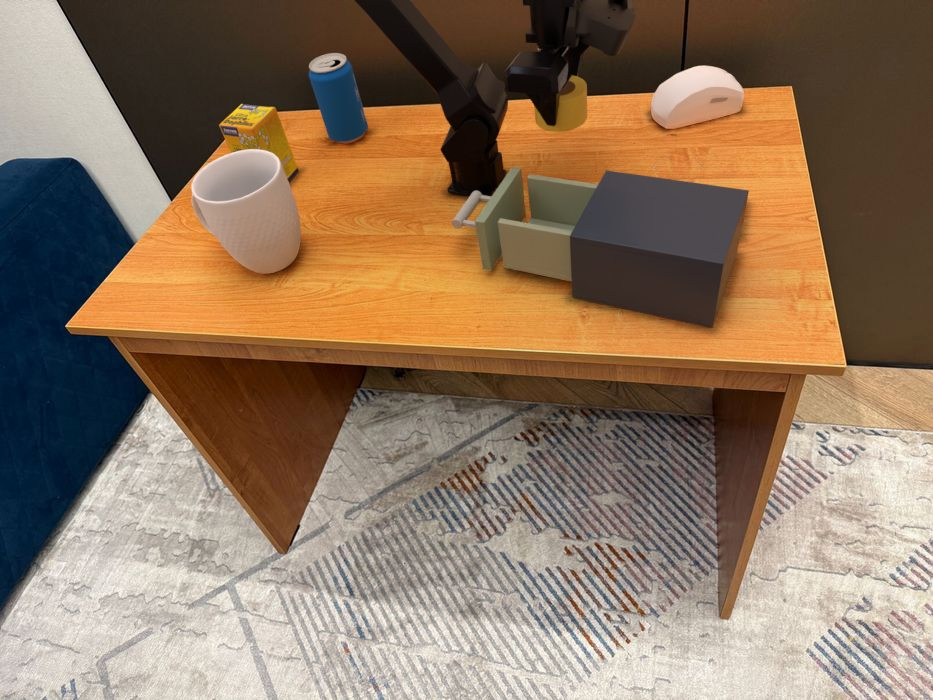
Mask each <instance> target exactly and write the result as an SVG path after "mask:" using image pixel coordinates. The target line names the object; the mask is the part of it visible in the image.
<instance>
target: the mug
mask: <svg viewBox="0 0 933 700" xmlns="http://www.w3.org/2000/svg"><path fill="white" fill-rule="evenodd" d="M190 187H191V188H190V189H191V193H192V194H191V197H190V198H191V205H192V209H193V212H194V214H195V216H196V218H197V220H199V222H200V224H201V225H202V227H203V228H204V229H205V230H206V231H207V232H208V233H210V234H211V235H212V236H214V237H215V238H216V239H217V241H218V242H219V244H220V245H221V247H222V248H223V249H224V250H225V252H227V253H228V254H229V255H230V256H231V257H232V258H233V259H234V261H236V262H237V263H239V264H240V265H241V266H242V267H244V268H246V269H247V270H249V271H251V272H254V273H256V274H261V275H269V274H274V273H277V272H280V271H283V270H284V269H287V268H288V267H290V265H291V264H293V263H294V261H295V260H296V258H297V256H298V255H299V251H300V246H301V241H302V228H301V227H302V226H301V225H302V223H301V219H300V218H301V217H300V214H299V208H298V205H297V202H296V197H295V195H294V192H293V190H292V188H291V184H290V182H289V181H288V180H287V177H286V174H285V172H284V170H283V167H282V164H281V162H280V160H279V158H278V157H277V156H276V155H275V154H273V153H271V152H269V151H266V150H259V149H249V150H241V151H237V152H233V153H231V152H230V153H228V154H225V155H222V156H220V157H218V158H216V159H214V160H212V161H211V162H209V163H207V164H206V165H205V166H203V167H202V168H201V169H200V170H199V171H198V172H197V173H196V175H195V176H194V177H193V179H192V181H191V186H190Z"/></svg>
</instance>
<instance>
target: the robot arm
mask: <svg viewBox="0 0 933 700" xmlns="http://www.w3.org/2000/svg"><path fill="white" fill-rule="evenodd" d="M353 1H354V2H355V3H356V4H357V6H359V8H360V9H361V10H362V11H363V13H365V14H366V15H367V17H368V18H369V19H370V20H371V21H372V22H373V24H375V26H376V27H377V28H378V29H379V30H380V31H381V32H382V34H384V36H385V37H386V38H387V39H388V40H389V41H390V42H391V44H393V46H394V47H395V48H396V49H397V50H398V51H399V52H400V54H401V55H402V56H403V57H404V58H405V59H406V60H407V61H408V62H409V64H410V65H411V66H412V67H413V68H414V70H416V72H418V74H419V75H420V76H421V77H422V78H423V79H424V80H425V82H426V83H427V84H428V85H429V86H430V87H431V88H432V89H433V91H434V92H435V93H436V96H437V98H438V101H439V104H440V106H441V107H440V108H441V109H442V113H443V115H444V118H445V120H446V122H447V123H448V124H449V129H448V131H447V132H446V135H445V138H444V140H443V142H442V145H441V147H440V152H441V154H442V156H443V157H444V159H445V160H446V162H447V163H448V167H449V172H450V177H451V183H450V184H449V185H448V187H447V190H446V191H447V193H448V194H451V195H458V196H463V197H468V198H469V197H470V195H471V194H472V192H473V191H479V192H481V194H482V195H485V196H491V197H492V195H493V194H494V192H495V191H496V190H497V188H498V187H499V185H500V184H501V182H502V181H503V179H504V178H505V177H506V175H507V174H508V171H507V169H505V168H504V161H503V153H502V152H501V151H499V145H498V140H497V138H498V137H499V135H500V131H501V129H502V126H503V123H504V121H505V117H506V116H507V115H506V114H507V112H508V110H509V109H508V108H509V97H508V94H507V93H516V94H517V93H518V94H525V95H526V96H527V97H528V98H529V100H530V101H531V103H532V104H533V106H535V107H536V109H537V110H538V112H539V113H540V115H541V117H542V118H543V120H544V121H545V123H546V124H547V125H549V126H555V125H556V123H557V116H558V107H559V98H560V90H562V89H563V88H564V87H565V86H566V84H567V83H568V81H569V79H570V78H571V76H572V75H573V76H577V77H579V75H580V69H581V66H582V61H583V56H584V54H585V51H587V50H588V49H589V48H590V47H592V48H595V49H597V50H598V51H602V53H603V54H604V55H606V56H610V57H617V56H618V55H619V54H620V52H621V50H622V49H623V46H625V44H626V42H627V39H628V37H629V34H630V32H631V29H632V27H633V24H634V21H635V20H636V15H637V14H636V10H637V8H636V7H634V6H633V0H522V5H523V6H529V17H530V27H529V28H528V29H527V31H526V32H525V34H524V35H525V43H526V44H536V51H532V50H521V51H520V52H518V54H517V55H516V56H515V57H514V58H513V60H512V61H511V63H510V64H509V65H508V67H507V68H506V69H505V70H504V71H503V81H504V82H503V81H501V80H500V79H498V78H497V76H496V75H495V74H494V72H493V71H492V69H491V67H490V66H489V65H488V64H487V62H483V63H482V64H481V65H480V66H479V67H478V68H476V67H473V66H471V65H469V64H466V63H465V62H464V61H462V60H461V59H460V57H459V56H458V54H456V52H455V51H454V50H453V49H452V48H451V47H450V45H449V44H448V43H447V42H446V40H444V38H443V37H442V36H441V35H440V34H439V33H438V31H437V30H436V29H435V28H434V26H433V25H432V24H431V23H430V22H429V20H427V19H426V17H425V16H424V15H423V13H422V12H421V11H420V10H419V9H418V8H417V6H416V5H415V4H414V3H413V2H412V0H353ZM506 92H507V93H506ZM535 107H534V108H535Z"/></svg>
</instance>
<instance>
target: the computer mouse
mask: <svg viewBox="0 0 933 700" xmlns="http://www.w3.org/2000/svg"><path fill="white" fill-rule="evenodd" d="M744 91H745V90H744V88H743V86H742V85H741V84H740V82H738V80H737V79H736V77H735V76H733V75H732V74H731V73H729V72H728V71H726V70H725V69H722V68H720V67H717V66H712V65H697V66H693V67H691V68H688V69H684V70H682V71H679V72H677V73H675V74H674V75H672V76H671V77H669V78H668V79H666V80H665V81H663V82H662V83H660V84H659V85H658V87H657V88H656V90H655V91H654V93H653V95H652V98H651V102H650V115H651V117H652V119H653V120H654V122H656V123H657V124H658V125H660V126H661V127H663V128H664V129H666V130H676V129H680V128H684V127H688V126H691V125H696V124H699V123H704V122H708V121H712V120H715V119H716V120H717V119H719V118H723V117H727V116H730V115H733V114H737V113H740V112H741V111H742V108H743V103H744V99H745V93H744Z"/></svg>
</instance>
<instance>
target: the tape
mask: <svg viewBox="0 0 933 700" xmlns="http://www.w3.org/2000/svg"><path fill="white" fill-rule="evenodd" d="M533 106H534V105H533ZM534 118H535V123H536V126H538V127H539V128H540V129H541V130H544V131H548V132H551V133H552V132H554V133H561V132H562V133H563V132H568V131H573V130H575V129H577V128H580V127H581V126H583V124H584V123H585V122H586V121H587V119H588V84H587V82H586V81H585V79H583V78H581V77H579V76H578V77H577V76H573V75H572V76H571V78H570V79H569V81H568V83H567V84H566V86H565V87H564V88H563V89H562V90H560V98H559V107H558V116H557V123H556V125H555V126H549V125H547V124H546V123H545V121H544V120H543V118H542V117H541V115H540V113H539V112H538V110H537V109H536V107H535V106H534Z"/></svg>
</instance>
